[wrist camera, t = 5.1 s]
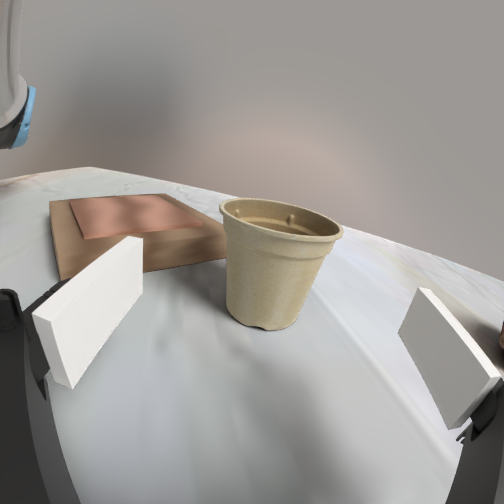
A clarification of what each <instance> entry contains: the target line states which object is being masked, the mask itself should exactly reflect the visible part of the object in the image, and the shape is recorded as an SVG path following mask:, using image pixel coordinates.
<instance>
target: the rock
mask: <svg viewBox="0 0 504 504" xmlns="http://www.w3.org/2000/svg"><path fill="white" fill-rule="evenodd" d="M499 344H500V346H501V347H502V348H503V349H504V322H503V326H502V331H501V333H500V335H499Z"/></svg>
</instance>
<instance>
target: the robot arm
mask: <svg viewBox="0 0 504 504" xmlns="http://www.w3.org/2000/svg"><path fill="white" fill-rule="evenodd" d="M24 2H25V0H0V149H7V148H8V149H12V148H14V147H20V146H23V145H24V144H25V143H26V141H27V138H28V131H29V125H30V120H31V115H32V110H33V104H34V99H35V94H36V89H35V88H34V87H31V86H27V85H26V82H25V80H24V79H23V77H22V76H20V75H19V47H20V33H21V23H22V15H23V8H24ZM142 293H143V238H137V237H132V236H127V237H126V238H124V239H123V240H122V241H120V242H119V243H118V244H116V245H115V246H114V247H112V248H111V249H110V250H108V251H107V252H106V253H104V254H103V255H102V256H100V257H99V258H98V259H96V260H95V261H94V262H92V263H91V264H90V265H89V266H87V267H86V268H85V269H83V270H82V271H81V272H80V273H78V274H77V275H76V276H75V277H73V278H67V279H65V280H63V281H60V282H58V283H57V284H55V285H54V286H53V287H52V288H50V289H49V291H47V292H45V293H44V294H43V296H41V297H39V298H38V299H37V300H36V301H35V302H33V303H32V304H31V305H30V306H29V307H28V308H27V309H25V310H24V311H23V312H22V310H21V306H20V303H19V299H18V295H17V293H16V292H15V291H14V290H11V289H0V504H81V503H80V501H79V498H78V496H77V493H76V491H75V488H74V486H73V483H72V480H71V478H70V475H69V472H68V469H67V466H66V463H65V460H64V457H63V453H62V450H61V446H60V443H59V439H58V435H57V431H56V427H55V423H54V418H53V413H52V408H51V403H50V398H49V392H48V385H47V381H46V379H45V375H46V373H47V372H48V371H49V369H50V371H51V373H52V376H53V378H54V381H56V382H58V383H60V384H62V385H64V386H66V387H68V388H70V389H72V390H73V388H74V387H75V385H76V384H77V382H78V381H79V379H80V378H81V376H82V375H83V373H84V372H85V370H86V369H87V367H88V366H89V364H90V363H91V362H92V360H93V359H94V357H95V356H96V354H97V353H98V352H99V350H100V349H101V347H102V346H103V345H104V343H105V342H106V340H107V339H108V338H109V336H110V335H111V334H112V332H113V331H114V329H115V328H116V327H117V325H118V324H119V323H120V321H121V320H122V319H123V317H124V316H125V315H126V313H127V312H128V311H129V309H130V308H131V307H132V305H133V304H134V303H135V302H136V300H137V299H138V298H139V296H140V295H141V294H142ZM398 334H399V336H400V338H401V340H402V341H403V343H404V345H405V347H406V348H407V350H408V352H409V354H410V355H411V357H412V359H413V361H414V363H415V365H416V366H417V368H418V370H419V372H420V374H421V376H422V378H423V380H424V381H425V383H426V385H427V387H428V389H429V391H430V393H431V395H432V397H433V399H434V401H435V403H436V405H437V407H438V409H439V411H440V414H441V416H442V418H443V420H444V422H445V424H446V426H447V429H448V430H450V429H454V428H458V427H461V426H462V425H463V424H464V423H465V421H466V420H467V419H468V418H469V417H470V418H471V419H472V422H471V423H470V425H469V426H468V427H467V428H466V429H465V430H464V431H463V432H462V433H461V434H460V435H459V436H458V437H457V439H456V441H459V440H460V439H461V438H462V437H465V438H464V439H463V440H462V441H461V442H460V443H462V444H464V445H463V449H462V453H461V457H460V460H459V464H458V468H457V471H456V474H455V477H454V481H453V484H452V487H451V490H450V492H449V495H448V498H447V501H446V503H445V504H504V381H503V379H502V378H501V374H500V373H499V372H498V370H497V369H496V368H495V366H494V365H493V364H492V362H491V361H490V360H489V358H488V357H487V356H486V354H485V353H484V352H483V351H482V349H481V348H480V347H479V346H478V344H477V343H476V342H475V341H474V339H473V338H472V337H471V336H470V334H469V333H468V332H467V331H466V330H465V328H464V327H463V326H462V325H461V324H460V323H459V321H458V320H457V319H456V318H455V317H454V316H453V315H452V313H451V312H450V311H449V310H448V309H447V308H446V307H445V306H444V304H443V303H442V302H441V301H440V300H439V299H438V298H437V297H436V296H435V295H434V294H433V293H432V292H431V290H430V289H426V288H420V287H418V289H417V291H416V294H415V296H414V298H413V301H412V303H411V305H410V307H409V310H408V312H407V314H406V316H405V318H404V321H403V323H402V325H401V327H400V329H399V331H398Z"/></svg>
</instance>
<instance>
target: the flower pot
mask: <svg viewBox="0 0 504 504" xmlns="http://www.w3.org/2000/svg"><path fill="white" fill-rule="evenodd" d="M219 210H220V213H221V214H222V215H223V228H224V231H225V232H226V305H227V309H228V311H229V312H230V314H231V315H232V316H233V317H234V318H235V319H236V320H238V321H239V322H241V323H242V324H244V325H246V326H258V327H261V328H264V329H265V330H268V331H269V330H280V329H283V328H286V327H288V326H290V325H291V324H293V323H294V322H295V320H296V319H297V316H298V314H299V312H300V309H301V307H302V305H303V303H304V301H305V299H306V297H307V294H308V292H309V290H310V288H311V286H312V284H313V282H314V280H315V278H316V275H317V273H318V271H319V269H320V267H321V265H322V262H323V260H324V258H325V256H326V255H327V254H329V253H330V252H331V250H332V247H333V245H334V243H335V241H336V240H338V239H340V238H341V237H342V235H343V228H342V227H341V226H340V225H339V224H338V223H337V222H335V221H334V220H332V219H330V218H329V217H326V216H324V215H322V214H320V213H317V212H315V211H312V210H309V209H306V208H303V207H300V206H296V205H292V204H288V203H283V202H279V201H273V200H265V199H257V198H235V199H229V200H226V201H223V202H222V203H221V204H220V205H219Z"/></svg>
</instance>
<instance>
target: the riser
mask: <svg viewBox="0 0 504 504" xmlns="http://www.w3.org/2000/svg"><path fill="white" fill-rule="evenodd" d="M49 209H50V225H51V232H52V238H53V245H54V250H55V256H56V261H57V266H58V271H59V275H60V280H61V281H63V280H65V279H67V278H73V277H75V276H76V275H77V274H78V273H80V272H81V271H82V270H83V269H85V268H86V267H87V266H89V265H90V264H91V263H92V262H94V261H95V260H96V259H98V258H99V257H100V256H102V255H103V254H104V253H106V252H107V251H108V250H110V249H111V248H112V247H114V246H115V245H116V244H118V243H119V242H120V241H122V240H123V239H124V238H126V237H127V236H132V237H137V238H143V273H144V272H150V271H155V270H161V269H167V268H172V267H178V266H183V265H189V264H195V263H200V262H206V261H211V260H217V259H222V258H226V232H225V231H224V228H223V224H221V223H219V222H217V221H215V220H214V219H212V218H210V217H208V216H206V215H204V214H202V213H201V212H199V211H197V210H195V209H193V208H191V207H189V206H188V205H186V204H184V203H182V202H180V201H178V200H176V199H174V198H172V197H171V196H169V195H167V194H141V195H122V196H106V197H92V198H80V199H69V200H58V201H49Z"/></svg>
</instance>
